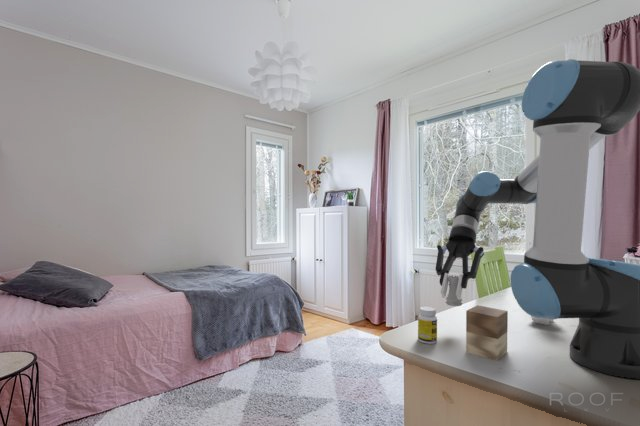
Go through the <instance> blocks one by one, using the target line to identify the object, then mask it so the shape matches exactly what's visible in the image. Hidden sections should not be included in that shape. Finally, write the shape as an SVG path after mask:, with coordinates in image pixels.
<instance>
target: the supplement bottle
mask: <svg viewBox="0 0 640 426" xmlns="http://www.w3.org/2000/svg"><path fill="white" fill-rule="evenodd" d="M436 314H437V310H436V307H435V308H434V307H431V306H421V307H419V315H418V318H417V321H418V322H417V340H418V342H420V343H422V344H429V345H432V344H436V343H437V341H438V317H437V316H436Z"/></svg>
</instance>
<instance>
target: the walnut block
mask: <svg viewBox="0 0 640 426" xmlns="http://www.w3.org/2000/svg"><path fill="white" fill-rule="evenodd" d="M465 311H466V323H465V324H466V325H465V327H466V328H465V331H466V332H470V333H474V334H478V335H483V336H487V337H491V338H495V339H498V338H500V337H501V336H502V335H504V334H505V333H506V332H507V333H508V329H509V328H508V319H509V318H508V314H509V313H508V310H505V309H500V308H499V309H498V308H494V307H487V306H483V305H478V304H477V305H475V306H473V307H471V308H469V309H467V310H465Z"/></svg>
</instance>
